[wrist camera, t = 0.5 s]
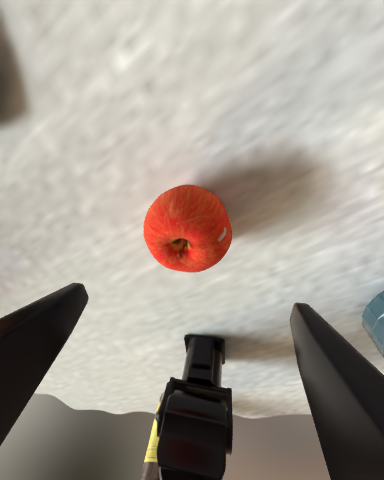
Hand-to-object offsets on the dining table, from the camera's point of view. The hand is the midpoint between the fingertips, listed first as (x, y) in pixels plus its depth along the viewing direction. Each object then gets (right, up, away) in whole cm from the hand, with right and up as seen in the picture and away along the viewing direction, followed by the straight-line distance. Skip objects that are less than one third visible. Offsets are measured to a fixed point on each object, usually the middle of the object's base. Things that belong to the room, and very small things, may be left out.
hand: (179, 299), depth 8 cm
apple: (+1, +5, +13) cm, 14 cm away
